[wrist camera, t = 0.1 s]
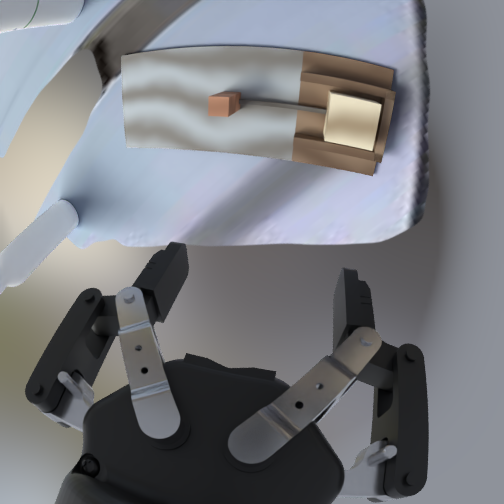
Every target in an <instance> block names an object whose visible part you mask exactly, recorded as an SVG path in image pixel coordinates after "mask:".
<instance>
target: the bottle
mask: <svg viewBox="0 0 504 504" xmlns="http://www.w3.org/2000/svg"><path fill="white" fill-rule="evenodd" d="M78 223H79V218H78V214H77V212H76V210H75V208H74V207H73V206H72V204H71V203H69V202H68V201H66V200H59V201H58V202H56V203H54V204H53V205H52V206H51V207H50V208H49V209H48V210H47V211H45V212H44V213H43V214H42V215H41V216H39V217H38V218H37V219H36V220H35V221H34V222H33V223H31V224H30V225H29V226H28V227H27V228H26V229H25V230H24V231H23V232H22V233H20V234H19V235H18V236H17V237H16V238H15V239H14V240H13V241H12V242H11V243H10V244H9V245H8V246H7V247H6V248H5V249H4V250H3V251H2V252H1V253H0V294H1V293H2V292H3V291H4V289H5V288H6V287H7V286H9V287H16V286H18V285H19V284H21V283H23V282H25V280H26V279H27V278H28V277H29V276H30V275H31V274H32V272H33V271H34V270H35V269H36V268H37V267H38V266H39V265H40V264H41V262H42V261H43V260H44V259H45V258H46V257H47V256H48V255H49V254H50V253H51V252H52V251H53V250H54V249H55V248H56V247H57V246H58V245H59V244H60V243H61V241H63V240H64V239H65V238H66V237H67V236H68V235H69V234H70V233H71V232H72V231H73V230H74V229H75V228H76V227H77V226H78Z"/></svg>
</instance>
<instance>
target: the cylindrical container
mask: <svg viewBox="0 0 504 504" xmlns="http://www.w3.org/2000/svg"><path fill="white" fill-rule="evenodd" d="M83 4H84V0H0V33H3V32H9V31H14V30H20V29H26V28H33V27H41V26H51V25H65V24H69V23H71V22H73V21H74V20H75V19H76V18H77V17H78V15H79V14H80V12H81V10H82V8H83Z"/></svg>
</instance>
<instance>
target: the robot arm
mask: <svg viewBox="0 0 504 504" xmlns="http://www.w3.org/2000/svg"><path fill="white" fill-rule="evenodd" d="M188 271H189V264H188V257H187V249H186V245H185V244H184V243H177V242H170V243H169V245H168V246H167V248H166V249H165V250H160V251H158V252H157V253H156V254H154V255H153V256H152V258H151V259H150V261H149V263H147V265H146V266H145V268H144V269H143V271H142V272H141V274H140V275H139V277H138V278H137V279H136V281H135V283H134V284H133V285H132V287H127V288H124V289H122V290H121V291H120V292H118V294H117V295H115V296H114V295H113V296H102V294H101V292H100V290H98V289H96V288H90V289H86V290H85V291H83V292H82V293H81V294H80V295H79V296H78V298H77V299H76V301H75V303H74V304H73V305H72V307H71V308H70V310H69V311H68V313H67V315H66V316H65V318H64V319H63V321H62V323H61V324H60V326H59V327H58V329H57V331H56V333H55V334H54V336H53V337H52V339H51V341H50V343H49V344H48V346H47V348H46V350H45V351H44V353H43V355H42V356H41V358H40V360H39V362H38V364H37V366H36V368H35V369H34V371H33V373H32V375H31V377H30V379H29V381H28V383H27V385H26V389H25V394H26V397H27V399H28V400H29V401H30V402H31V403H32V404H33V405H35V406H36V407H37V408H38V409H39V410H40V411H41V412H42V413H43V414H45V415H46V416H47V417H49V418H50V419H52V420H53V421H55V422H57V423H58V424H60V425H61V426H63V427H66V428H69V427H73V428H75V429H77V430H79V431H81V432H83V450H82V455H81V458H80V460H79V461H78V463H77V464H76V465H75V467H74V468H73V469H72V470H71V471H70V472H69V473H68V475H67V476H66V477H65V479H64V481H63V483H62V486H61V488H60V491H59V494H58V497H57V499H56V502H55V504H331V503H332V502H333V501H334V500H335V498H336V497H345V498H367V499H368V500H369V501H372V502H383V501H388V500H393V499H399V498H403V497H408V496H412V495H415V494H417V493H418V492H419V491H421V489H422V488H423V487H424V485H425V483H426V480H427V469H428V439H429V437H428V436H429V435H428V434H429V432H428V431H429V430H428V399H427V386H426V385H427V384H426V373H425V364H424V356H423V353H422V351H421V350H420V349H419V348H418V347H417V346H415V345H413V344H404V345H401V346H400V347H399V348H397V347H394V346H392V345H389V344H387V343H385V342H384V341H382V340H381V337H380V335H379V333H378V332H377V331H376V330H375V322H374V314H373V307H372V299H371V292H370V288H369V287H368V285H367V284H366V282H365V281H360V280H358V273H357V270H355V269H348V268H342V270H341V272H340V276H339V279H338V282H337V285H336V288H335V292H334V299H333V353H332V354H331V355H330V356H325V357H324V358H322V359H321V360H320V361H319V362H318V363H317V364H316V365H315V366H314V367H313V368H312V369H311V370H309V371H308V372H307V373H306V374H305V375H304V376H303V377H302V378H301V379H300V380H298V381H297V382H296V383H295V384H294V385H292V386H291V387H290V386H289V385H288V384H286V383H285V382H284V381H282V380H280V379H277V378H275V375H276V371H270V370H264V369H258V368H227V367H225V366H222V365H220V364H218V363H216V362H214V361H212V360H210V359H208V358H204V357H200V356H196V355H192V354H188V353H186V355H185V358H184V359H177V360H172V361H169V362H166V363H165V361H164V358H163V355H162V352H161V349H160V346H159V343H158V339H157V336H156V333H155V329H154V324H155V322H156V321H158V322H161V323H164V320H165V319H166V317H167V315H168V313H169V311H170V309H171V307H172V305H173V303H174V301H175V299H176V297H177V295H178V293H179V291H180V290H181V288H182V286H183V284H184V282H185V280H186V278H187V276H188ZM116 336H119V340H120V345H121V350H122V355H123V359H124V364H125V368H126V373H127V377H128V380H129V384H128V385H126V386H124V387H122V388H121V389H119V390H117V391H115V392H114V393H112V394H110V395H108V396H107V397H105V398H103V399H101V400H99V401H98V402H96V403H94V402H93V399H94V391H93V389H92V385H93V383H94V381H95V379H96V376H97V374H98V372H99V370H100V368H101V366H102V364H103V361H104V359H105V357H106V355H107V353H108V351H109V349H110V347H111V345H112V343H113V341H114V339H115V337H116ZM357 380H359V381H361V382H364V383H366V384H369V385H372V386H374V403H373V404H374V405H373V421H372V432H371V443H370V446H368V447H367V448H365V449H363V450H362V451H360V453H359V454H358V455H357V457H356V460H355V463H354V465H353V466H352V467H351V468H350V469H349V470H344V468H343V465H342V462H341V461H340V459H339V458H338V456H337V455H336V453H335V452H334V450H333V449H332V447H331V446H330V444H329V443H328V441H327V440H326V438H325V437H324V435H323V434H322V432H321V430H320V429H319V427H318V426H317V423H318V422H319V421H320V420H321V419H322V418H323V417H324V416H325V415H326V414H327V413H328V412H329V411H330V410H331V409H332V408H333V407H334V406H335V404H336V403H337V402H338V401H339V400H340V399H341V398H342V397H343V396H344V395H345V393H346V392H347V391H348V390H349V389H350V388H351V387H352V386H353V385H354V384H355V382H356V381H357Z"/></svg>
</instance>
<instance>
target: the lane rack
mask: <svg viewBox="0 0 504 504" xmlns="http://www.w3.org/2000/svg"><path fill="white" fill-rule="evenodd" d="M393 73H394V70H392V69H388V68H385V67H381V66H377V65H374V64H370V63H366V62H361V61H357V60H352V59H348V58H343V57H338V56H332V55H327V54H321V53H314V52H307V51H299V50H291V49H280V48H268V47H248V46H207V47H188V48H175V49H165V50H156V51H149V52H142V53H135V54H130V55H124V56H121V76H122V100H123V116H124V128H125V139H126V148H161V149H182V150H198V151H211V152H223V153H233V154H243V155H252V156H260V157H268V158H275V159H282V160H289V161H296V162H302V163H308V164H314V165H320V166H325V167H331V168H336V169H341V170H346V171H351V172H356V173H361V174H365V175H370V176H373V173H374V169H375V165H376V162H379V163H381V161H382V157H383V153H384V149H385V144H386V140H387V135H388V131H389V126H390V121H391V116H392V111H393V105H394V100H395V94H396V92H394V91H391V86H392V79H393ZM329 90H330V91H335V92H340V93H345V94H350V95H354V96H359V97H363V98H367V99H372V100H374V101H376V102H378V103H379V104H381V111H380V116H379V121H378V126H377V131H376V136H375V141H374V146H373V150H372V151H370V150H366V149H362V148H357V147H352V146H348V145H343V144H338V143H332V142H327V141H325V140H324V134H323V130H324V123H325V116H326V114H321V113H315V112H308V111H302V110H295V109H287V108H279V107H270V106H260V105H249V104H240V110H238V111H237V112H235V113H234V114H232V115H231V116H229V117H219V116H208V100H209V96H211V95H214V94H217V93H220V92H241V99H246V100H259V101H269V102H278V103H287V104H294V105H302V106H308V107H315V108H321V109H327V102H328V94H329Z"/></svg>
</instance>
